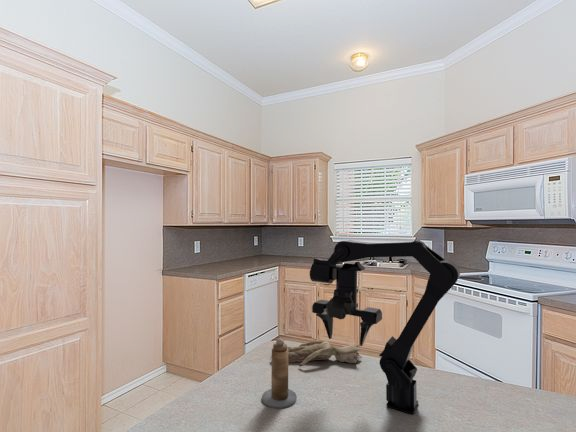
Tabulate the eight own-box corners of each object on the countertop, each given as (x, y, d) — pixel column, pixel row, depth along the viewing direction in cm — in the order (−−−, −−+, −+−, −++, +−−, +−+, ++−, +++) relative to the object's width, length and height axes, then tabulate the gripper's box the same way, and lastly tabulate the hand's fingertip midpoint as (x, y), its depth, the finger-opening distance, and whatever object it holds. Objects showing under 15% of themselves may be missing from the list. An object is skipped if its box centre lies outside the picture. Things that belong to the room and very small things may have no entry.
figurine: (270, 375, 104) (366, 370, 102) (269, 354, 105) (364, 349, 103) (276, 355, 121) (358, 350, 119) (275, 338, 121) (357, 333, 119)
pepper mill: (290, 393, 87) (290, 336, 88) (285, 401, 83) (285, 342, 84) (274, 391, 89) (274, 335, 89) (269, 399, 84) (269, 340, 85)
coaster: (302, 395, 87) (302, 393, 87) (284, 412, 80) (284, 409, 80) (274, 387, 92) (274, 384, 92) (255, 401, 85) (255, 399, 85)
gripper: (302, 285, 90) (301, 343, 89) (369, 295, 80) (368, 360, 79) (321, 280, 99) (320, 332, 99) (383, 288, 89) (382, 346, 89)
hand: (345, 342), depth 91 cm, fingers open, 9 cm apart
